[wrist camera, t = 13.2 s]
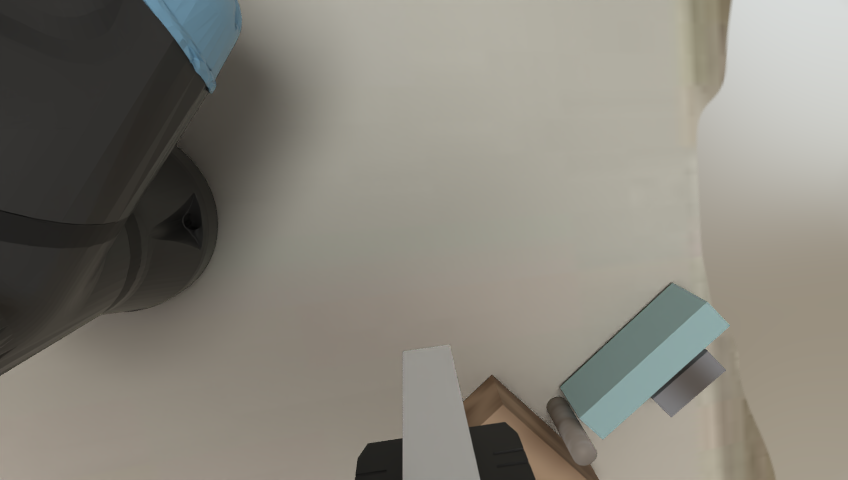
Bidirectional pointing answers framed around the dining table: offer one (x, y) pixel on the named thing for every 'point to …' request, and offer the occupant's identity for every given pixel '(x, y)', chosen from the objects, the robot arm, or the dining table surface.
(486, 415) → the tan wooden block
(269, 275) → the dining table surface
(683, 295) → the teal block
